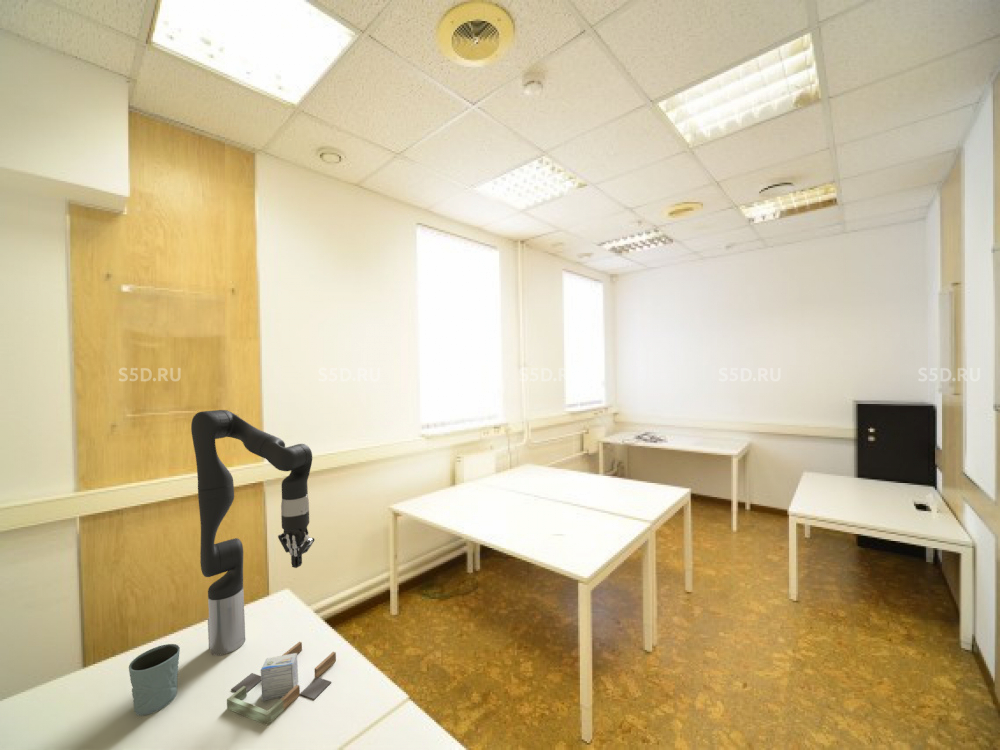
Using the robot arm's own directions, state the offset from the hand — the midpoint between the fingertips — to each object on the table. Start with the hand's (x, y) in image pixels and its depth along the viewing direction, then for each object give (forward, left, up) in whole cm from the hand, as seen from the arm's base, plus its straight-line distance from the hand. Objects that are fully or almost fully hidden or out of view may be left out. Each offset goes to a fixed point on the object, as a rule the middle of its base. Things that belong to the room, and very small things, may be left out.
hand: (296, 566), depth 120 cm
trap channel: (+5, -10, -27) cm, 29 cm away
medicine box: (+7, -13, -27) cm, 31 cm away
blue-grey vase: (-23, -26, -27) cm, 44 cm away
